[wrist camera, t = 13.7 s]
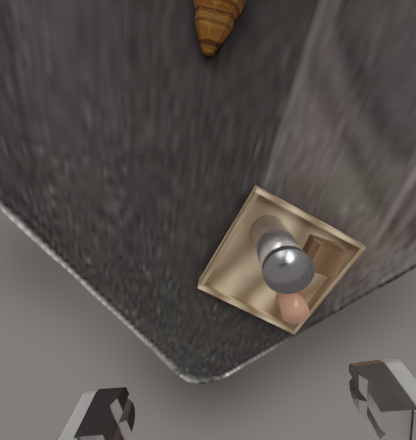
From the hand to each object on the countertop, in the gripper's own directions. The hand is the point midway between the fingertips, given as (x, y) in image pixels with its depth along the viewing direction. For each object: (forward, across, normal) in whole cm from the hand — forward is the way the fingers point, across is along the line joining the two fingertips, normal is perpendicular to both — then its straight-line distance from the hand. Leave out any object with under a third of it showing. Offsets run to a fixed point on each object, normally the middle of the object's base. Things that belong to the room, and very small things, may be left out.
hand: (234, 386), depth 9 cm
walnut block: (+28, -12, +10) cm, 32 cm away
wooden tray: (+31, -6, +12) cm, 34 cm away
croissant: (+32, -4, -25) cm, 40 cm away
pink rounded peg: (+28, -8, +18) cm, 34 cm away
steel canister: (+28, -6, +6) cm, 29 cm away
